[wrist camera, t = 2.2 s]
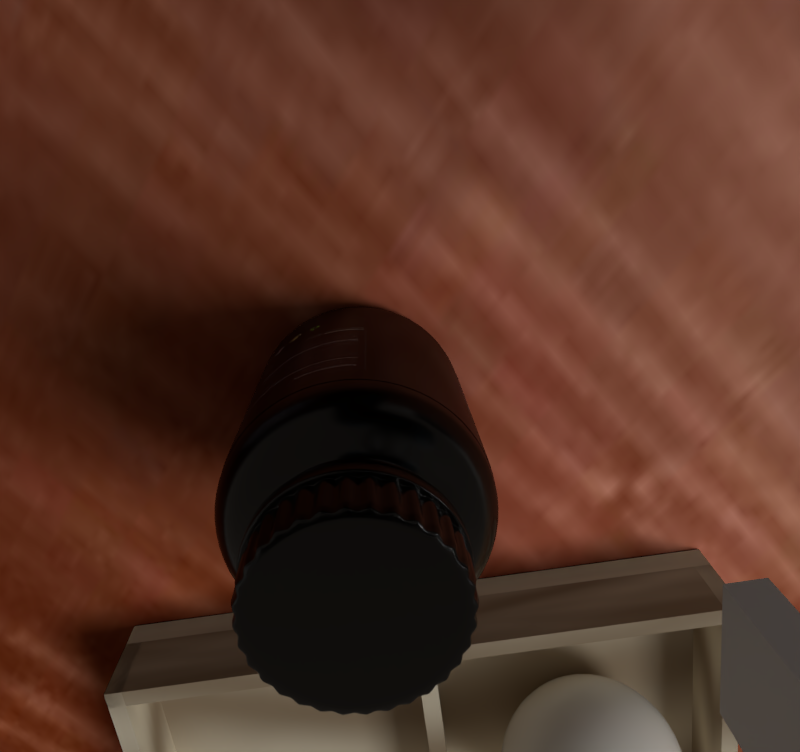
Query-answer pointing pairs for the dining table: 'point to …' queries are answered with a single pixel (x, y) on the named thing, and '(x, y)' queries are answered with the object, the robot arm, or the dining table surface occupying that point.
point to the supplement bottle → (356, 515)
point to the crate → (467, 684)
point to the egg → (587, 719)
